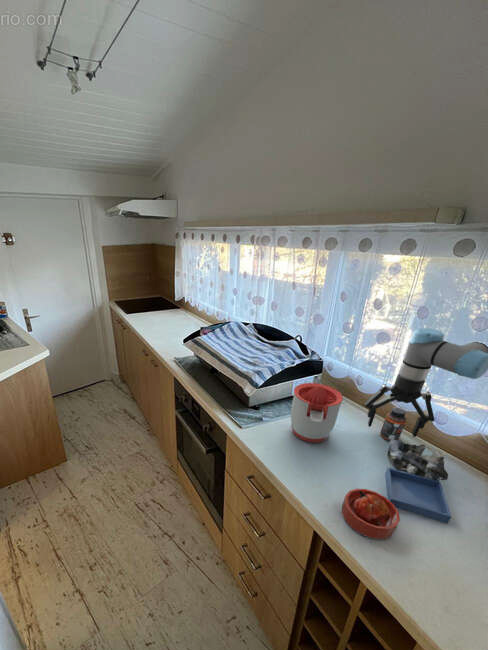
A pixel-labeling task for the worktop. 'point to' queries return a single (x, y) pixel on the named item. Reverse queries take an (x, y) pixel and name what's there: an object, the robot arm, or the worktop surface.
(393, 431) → the supplement bottle
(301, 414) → the citrus juicer
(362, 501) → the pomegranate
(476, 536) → the worktop surface
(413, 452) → the foil
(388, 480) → the blue tray
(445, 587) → the worktop surface
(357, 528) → the red bowl
